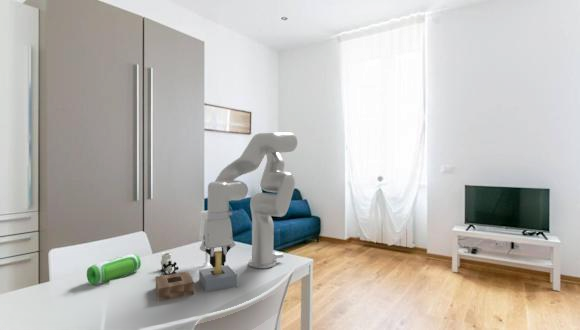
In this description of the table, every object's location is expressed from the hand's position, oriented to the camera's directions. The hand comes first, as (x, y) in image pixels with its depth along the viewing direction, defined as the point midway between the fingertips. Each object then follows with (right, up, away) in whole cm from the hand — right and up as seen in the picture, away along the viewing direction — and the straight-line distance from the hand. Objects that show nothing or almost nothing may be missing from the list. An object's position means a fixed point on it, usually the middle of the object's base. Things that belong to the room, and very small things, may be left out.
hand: (217, 264), depth 113 cm
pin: (0, -5, 0) cm, 5 cm away
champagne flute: (-9, -7, +19) cm, 22 cm away
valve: (-23, -7, +12) cm, 27 cm away
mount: (-13, -8, -7) cm, 17 cm away
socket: (0, -8, 0) cm, 8 cm away
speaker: (-41, -7, +6) cm, 42 cm away
